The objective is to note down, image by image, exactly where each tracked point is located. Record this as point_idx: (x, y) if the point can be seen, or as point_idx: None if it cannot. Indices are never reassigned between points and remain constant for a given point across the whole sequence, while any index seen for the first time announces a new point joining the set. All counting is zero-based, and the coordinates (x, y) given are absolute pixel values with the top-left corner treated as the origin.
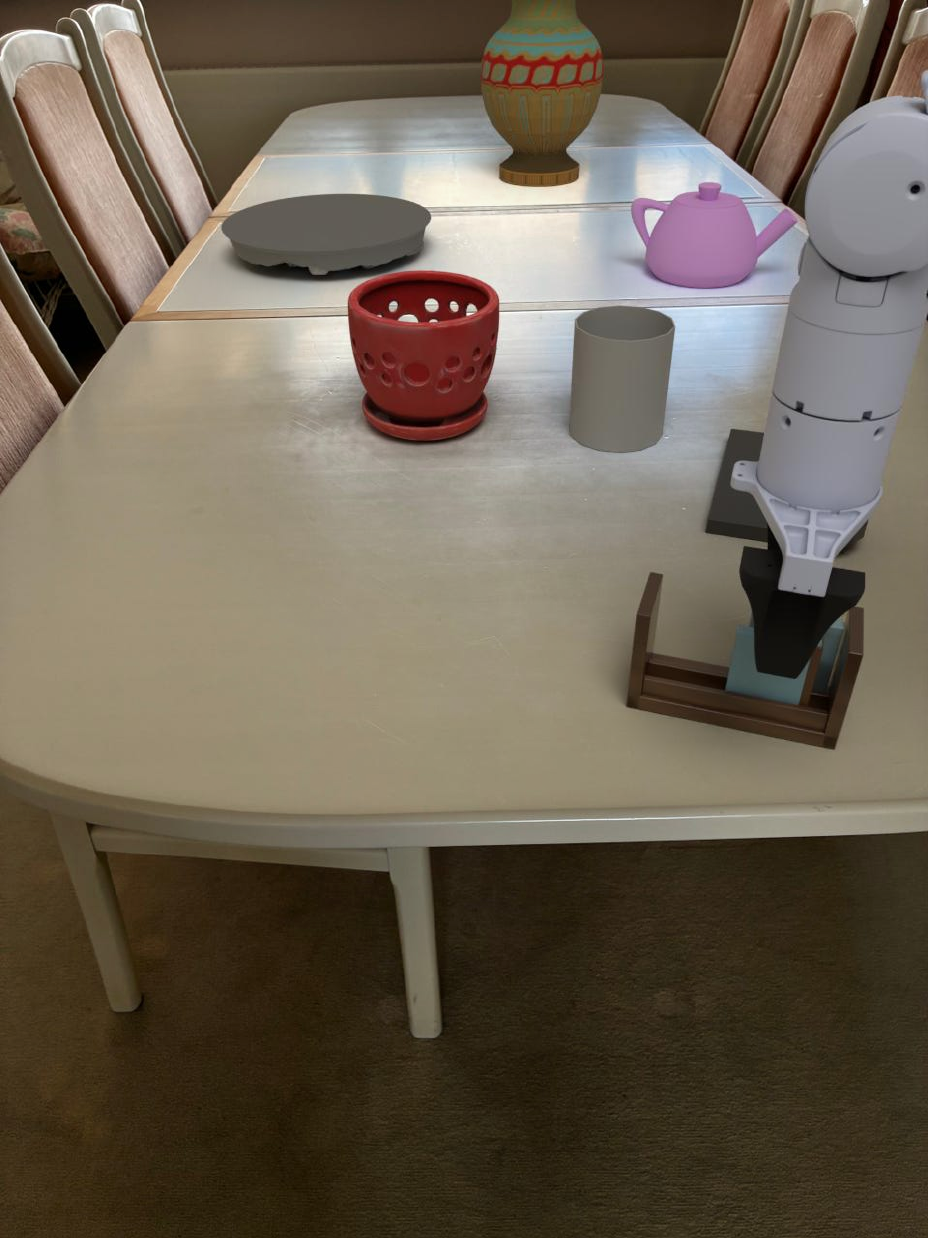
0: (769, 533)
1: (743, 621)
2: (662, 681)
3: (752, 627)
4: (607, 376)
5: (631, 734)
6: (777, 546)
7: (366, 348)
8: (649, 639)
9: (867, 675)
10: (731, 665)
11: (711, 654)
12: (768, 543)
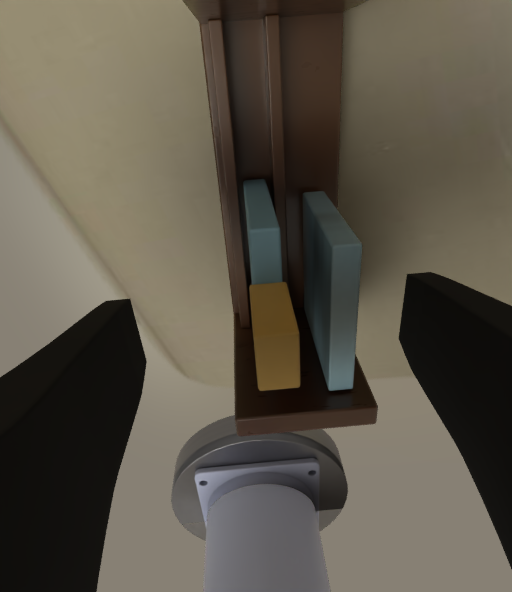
0: (501, 338)
1: (494, 159)
2: (216, 65)
3: (279, 256)
4: None
5: (134, 31)
6: (472, 339)
7: None
8: (230, 7)
9: (390, 332)
10: (246, 203)
11: (393, 124)
12: (481, 319)
